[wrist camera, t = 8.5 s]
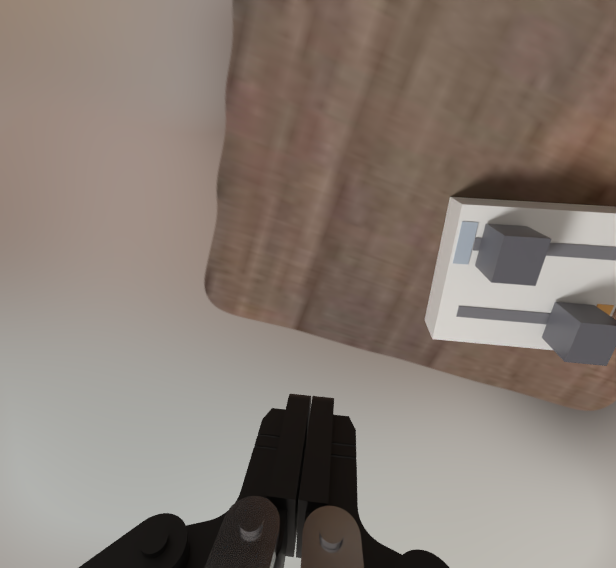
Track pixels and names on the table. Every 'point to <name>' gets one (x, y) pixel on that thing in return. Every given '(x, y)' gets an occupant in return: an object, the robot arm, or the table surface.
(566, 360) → the outer tab
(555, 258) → the switch panel
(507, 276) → the inner tab
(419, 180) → the table surface
